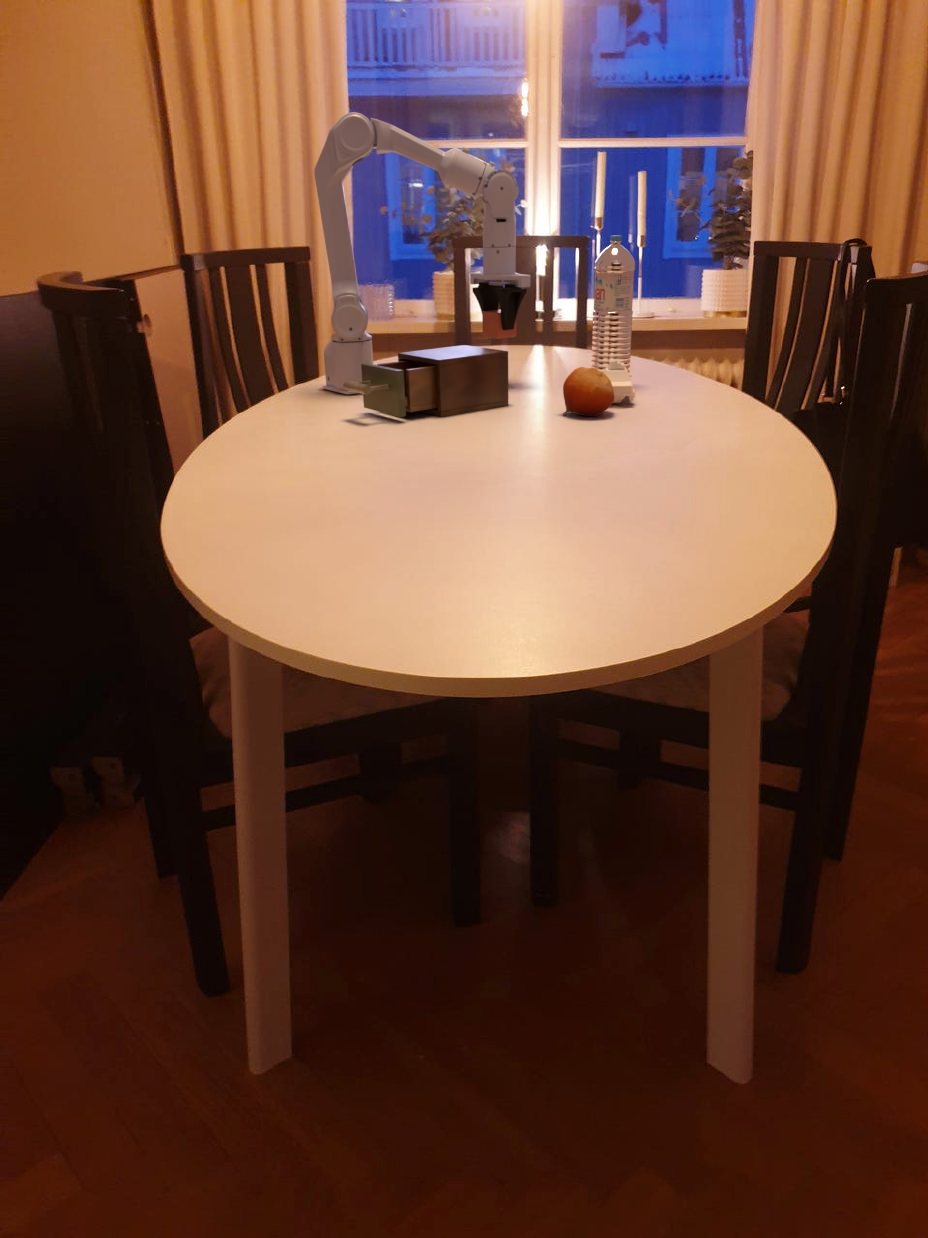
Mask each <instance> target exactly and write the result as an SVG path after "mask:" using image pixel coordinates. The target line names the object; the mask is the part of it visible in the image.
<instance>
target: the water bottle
mask: <svg viewBox="0 0 928 1238" xmlns="http://www.w3.org/2000/svg"><path fill="white" fill-rule="evenodd" d="M622 238H623V237H622V235H621V234H617V235H616V234H615V235H614V234H613V235H610V236H609V240H610V241H609V242H610V245H609V246H607V247H606V248H604V249H603V250H602V251H601V252H600V254H599V255H598V256H597V258H596V259H595V262H594V269H593V270H594V271H593V272H594V289H593V291H594V292H593V311H592V330H591V331H592V333H591V337H592V338H591V348H592V349H591V362H590V363H591V366H590V368H595V369H597V370H598V371H600V372H602V373H604V371H605V368H607V366H608V365H609V361H610V360H614V359H617V361H618V360H619V361H620V362H621V361H622V363H624V364H625V367H626V369H627V371H628V375H631V373H630V372H631V370H630V369H631V356H632V355H631V353H632V336H633V335H632V331H633V327H632V326H633V314H634V310H633V301H634V280H635V271H636V261H635V259H634V257H633V255H632V254H631V252H630V251H629V250H628V249H627V248H625V247H624V246H623V245H621V242H622Z"/></svg>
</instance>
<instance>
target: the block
mask: <svg viewBox="0 0 928 1238" xmlns="http://www.w3.org/2000/svg"><path fill="white" fill-rule="evenodd" d="M481 315H482V320H481V321H482V337H483V338H490V339H497V340H500V339H507V338H515V337H517V336H518V335H517V333H518V332H517V331H518V330H517V328H518V327H517V324H518V322H517V319H518V318H517V317H518V316H517V317H516V321H515V325H514V329H511V330H503V328H502V323H501V309H498V310H491V311H482V312H481Z"/></svg>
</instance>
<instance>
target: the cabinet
mask: <svg viewBox="0 0 928 1238" xmlns="http://www.w3.org/2000/svg"><path fill="white" fill-rule="evenodd" d="M405 360H412V361H418V362H423V363H429V364H435V365H437V387H438V408H433V409H427V410H421V411H419V412H420V413H424V414H428V415H432V416H437V417H441V418H443V417H449V416H454V415H460V414H466V413H473V412H478V411H484V410H489V409H490V410H491V409H494V408H502V407H507V406H509V351H508V350H501V349H495V348H489V347H482V346H474V345H466V344H461V345H454V346H446V347H437V348H428V349H421V350H420V349H419V350H410V351H403V352H398V353H397V362H398V361H405Z"/></svg>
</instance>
